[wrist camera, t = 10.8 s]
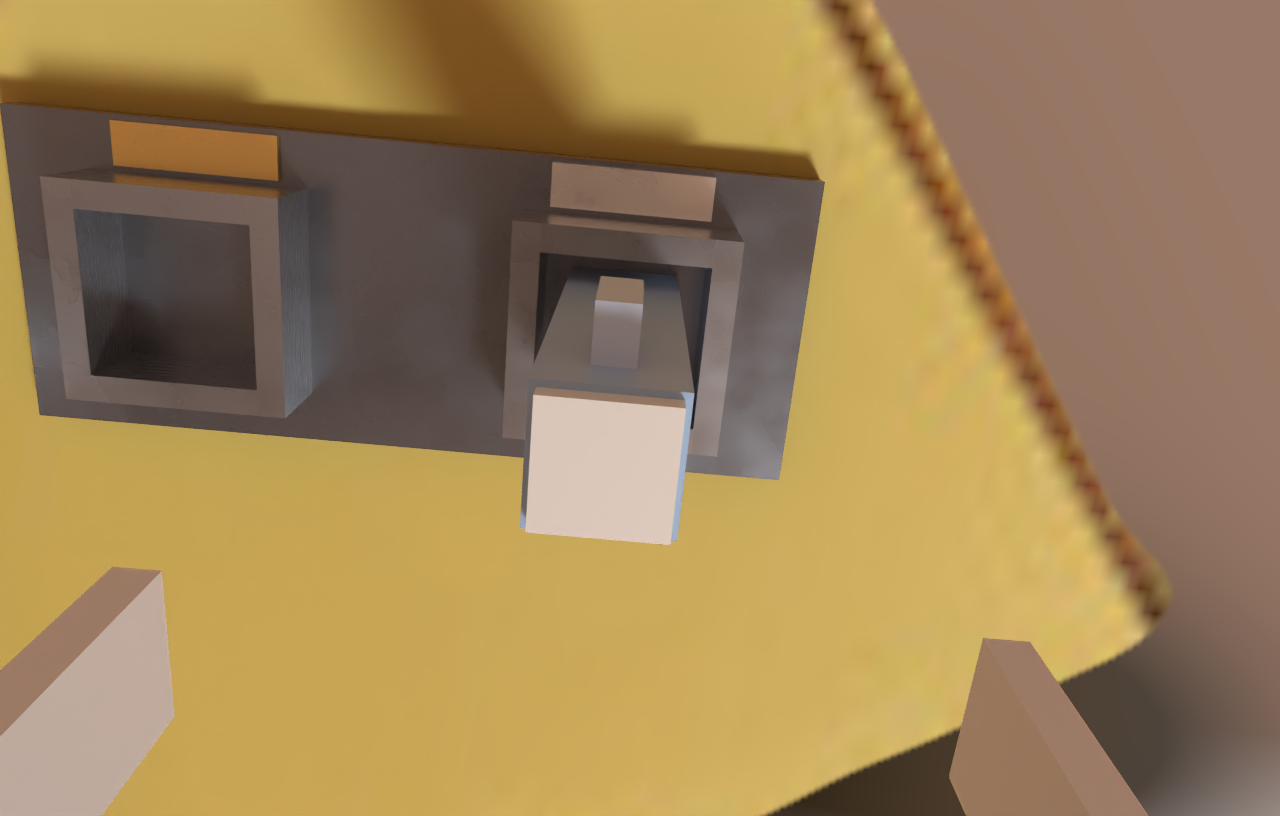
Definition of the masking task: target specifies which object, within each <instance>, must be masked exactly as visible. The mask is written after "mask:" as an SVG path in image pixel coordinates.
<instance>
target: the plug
mask: <svg viewBox="0 0 1280 816" xmlns="http://www.w3.org/2000/svg"><path fill="white" fill-rule="evenodd" d="M693 401H694V387H693V380H692V373H691V366H690V359H689V352H688V346H687V339H686V332H685V325H684V318H683V311H682V304H681V297H680V291H679V284H678V277H677V276H671V275H661V274H650V273H639V272H628V271H618V270H607V269H596V268H585V267H575V266H572V269H571V272H570V274H569V277H568V279H567V282H566V284H565V287H564V289H563V292H562V294H561V297H560V299H559V302H558V304H557V307H556V309H555V312H554V314H553V317H552V319H551V322H550V325H549V327H548V330H547V332H546V335H545V337H544V340H543V342H542V345H541V347H540V350H539V352H538V355H537V357H536V360H535V362H534V365H533V367H532V370H531V373H530V375H529V378H528V392H527V410H526V428H525V446H524V465H523V483H522V501H521V519H520V528H526V530H525V532H527V533H539V534H551V535H562V536H574V537H585V538H597V539H608V540H620V541H631V542H643V543H655V544H666V545H671V541H677V537H678V528H679V520H680V511H681V503H682V494H683V486H684V477H685V469H686V460H687V452H688V443H689V435H690V426H691V418H692V409H693Z"/></svg>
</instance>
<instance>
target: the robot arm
mask: <svg viewBox="0 0 1280 816" xmlns="http://www.w3.org/2000/svg"><path fill="white" fill-rule="evenodd" d="M173 718H174V705H173V694H172V683H171V671H170V660H169V649H168V637H167V626H166V615H165V603H164V592H163V581H162V571H155V570H143V569H131V568H118V567H112V568H111V569H110V570H109V571H108V572H107V573H106V574H104V575H103V576H102V577H101V578H100V579H99V580H98V581H97V582H96V583H95V584H94V585H93V586H91V587H90V588H89V589H88V590H87V591H86V592H85V593H84V594H83V595H82V596H81V597H80V598H78V599H77V600H76V601H75V602H74V603H73V604H72V605H71V606H70V607H69V608H68V609H67V610H65V611H64V612H63V613H62V614H61V615H60V616H59V617H58V618H57V619H56V620H55V621H54V622H52V623H51V624H50V625H49V626H48V627H47V628H46V629H45V630H44V631H43V632H42V633H41V634H39V635H38V636H37V637H36V638H35V639H34V640H33V641H32V642H31V643H30V644H29V645H28V646H26V647H25V648H24V649H23V650H22V651H21V652H20V653H19V654H18V655H17V656H16V657H15V658H13V659H12V660H11V661H10V662H9V663H8V664H7V665H6V666H5V667H4V668H3V669H2V670H0V816H102V814H103V813H104V812H105V810H106V809H107V808H108V806H109V805H110V803H111V802H112V801H113V799H114V798H115V797H116V795H117V794H118V793H119V791H120V790H121V788H122V787H123V786H124V784H125V783H126V782H127V780H128V779H129V778H130V776H131V775H132V774H133V772H134V771H135V769H136V768H137V767H138V765H139V764H140V763H141V761H142V760H143V759H144V757H145V756H146V754H147V753H148V752H149V750H150V749H151V748H152V746H153V745H154V744H155V742H156V741H157V739H158V738H159V737H160V735H161V734H162V733H163V731H164V730H165V729H166V727H167V726H168V724H169V723H170V722H171V720H172V719H173ZM949 777H950V780H951V782H952V784H953V787H954V789H955V791H956V794H957V796H958V798H959V800H960V803H961V805H962V807H963V810H964V812H965V814H966V816H1148V815H1147V813H1146V812H1145V810H1144V809H1143V807H1142V806H1141V804H1140V803H1139V801H1138V800H1137V798H1136V797H1135V795H1134V794H1133V793H1132V791H1131V790H1130V788H1129V787H1128V785H1127V784H1126V783H1125V781H1124V779H1123V778H1122V776H1121V775H1120V774H1119V772H1118V770H1117V769H1116V768H1115V766H1114V765H1113V763H1112V762H1111V760H1110V759H1109V757H1108V756H1107V754H1106V753H1105V752H1104V750H1103V749H1102V747H1101V746H1100V744H1099V743H1098V741H1097V740H1096V738H1095V737H1094V735H1093V734H1092V732H1091V731H1090V729H1089V728H1088V726H1087V725H1086V724H1085V722H1084V721H1083V719H1082V718H1081V716H1080V715H1079V713H1078V712H1077V710H1076V709H1075V708H1074V706H1073V704H1072V703H1071V702H1070V700H1069V699H1068V697H1067V696H1066V694H1065V693H1064V691H1063V690H1062V688H1061V687H1060V685H1059V684H1058V682H1057V681H1056V679H1055V678H1054V677H1053V675H1052V674H1051V672H1050V671H1049V669H1048V668H1047V666H1046V665H1045V663H1044V662H1043V660H1042V659H1041V657H1040V656H1039V655H1038V653H1037V652H1036V650H1035V649H1034V647H1033V646H1032V644H1031V643H1030V642H1025V641H1012V640H1000V639H988V638H983V641H982V645H981V649H980V653H979V657H978V661H977V665H976V669H975V673H974V677H973V681H972V685H971V689H970V693H969V698H968V702H967V706H966V710H965V714H964V718H963V722H962V726H961V730H960V734H959V738H958V742H957V746H956V750H955V754H954V758H953V762H952V767H951V771H950V775H949Z"/></svg>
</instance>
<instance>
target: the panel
mask: <svg viewBox="0 0 1280 816" xmlns="http://www.w3.org/2000/svg"><path fill="white" fill-rule="evenodd" d="M0 108H1V116H2V124H3V132H4V140H5V147H6V155H7V163H8V171H9V179H10V186H11V194H12V202H13V210H14V218H15V225H16V233H17V241H18V249H19V257H20V264H21V272H22V280H23V288H24V296H25V303H26V311H27V319H28V327H29V335H30V342H31V350H32V358H33V366H34V374H35V381H36V389H37V397H38V405H39V413H40V415H47V416H58V417H69V418H81V419H92V420H103V421H115V422H126V423H137V424H149V425H160V426H171V427H183V428H194V429H205V430H217V431H228V432H239V433H251V434H262V435H273V436H285V437H296V438H307V439H319V440H330V441H341V442H353V443H364V444H375V445H387V446H398V447H409V448H421V449H432V450H443V451H455V452H466V453H477V454H489V455H500V456H511V457H523V458H524V446H525V428H526V410H527V392H528V378H529V375H530V373H531V370H532V367H533V365H534V362H535V360H536V357H537V355H538V352H539V350H540V347H541V345H542V342H543V340H544V337H545V335H546V332H547V330H548V327H549V325H550V322H551V319H552V317H553V314H554V312H555V309H556V307H557V304H558V302H559V299H560V297H561V294H562V292H563V289H564V287H565V284H566V282H567V279H568V277H569V274H570V272H571V269H572V266H575V267H585V268H596V269H607V270H618V271H628V272H639V273H650V274H661V275H671V276H677V277H678V284H679V291H680V297H681V304H682V311H683V318H684V325H685V332H686V339H687V346H688V352H689V359H690V366H691V373H692V380H693V387H694V401H693V409H692V418H691V426H690V435H689V443H688V452H687V460H686V469H685V472H693V473H704V474H715V475H727V476H738V477H749V478H761V479H772V480H779V476H780V469H781V463H782V456H783V450H784V443H785V437H786V430H787V424H788V417H789V411H790V404H791V398H792V391H793V385H794V379H795V372H796V366H797V359H798V353H799V346H800V340H801V333H802V327H803V320H804V314H805V307H806V301H807V294H808V288H809V281H810V275H811V268H812V262H813V255H814V249H815V242H816V236H817V229H818V223H819V216H820V210H821V203H822V197H823V191H824V184H825V182H824V181H822V180H820V179H812V178H801V177H791V176H780V175H770V174H759V173H749V172H739V171H728V170H718V169H707V168H697V167H686V166H676V165H665V164H655V163H644V162H634V161H624V160H613V159H603V158H592V157H582V156H571V155H561V154H550V153H540V152H530V151H519V150H509V149H498V148H488V147H477V146H467V145H456V144H446V143H436V142H425V141H415V140H404V139H394V138H383V137H373V136H362V135H352V134H342V133H331V132H321V131H310V130H300V129H289V128H279V127H268V126H258V125H248V124H237V123H227V122H216V121H206V120H195V119H185V118H174V117H164V116H153V115H143V114H133V113H122V112H112V111H101V110H91V109H80V108H70V107H59V106H49V105H39V104H28V103H18V102H17V103H0Z"/></svg>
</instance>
